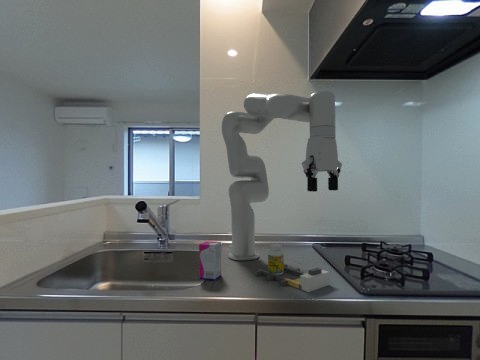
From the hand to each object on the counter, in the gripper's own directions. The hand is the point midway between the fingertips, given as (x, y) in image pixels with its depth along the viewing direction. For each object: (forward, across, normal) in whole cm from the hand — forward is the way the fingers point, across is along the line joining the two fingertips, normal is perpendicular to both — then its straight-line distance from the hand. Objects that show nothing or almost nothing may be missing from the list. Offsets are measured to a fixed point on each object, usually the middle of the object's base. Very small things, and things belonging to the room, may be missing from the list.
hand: (323, 190), depth 92 cm
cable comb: (+29, +3, -10) cm, 31 cm away
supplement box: (+29, +23, -28) cm, 46 cm away
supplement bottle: (+29, +3, -18) cm, 34 cm away
